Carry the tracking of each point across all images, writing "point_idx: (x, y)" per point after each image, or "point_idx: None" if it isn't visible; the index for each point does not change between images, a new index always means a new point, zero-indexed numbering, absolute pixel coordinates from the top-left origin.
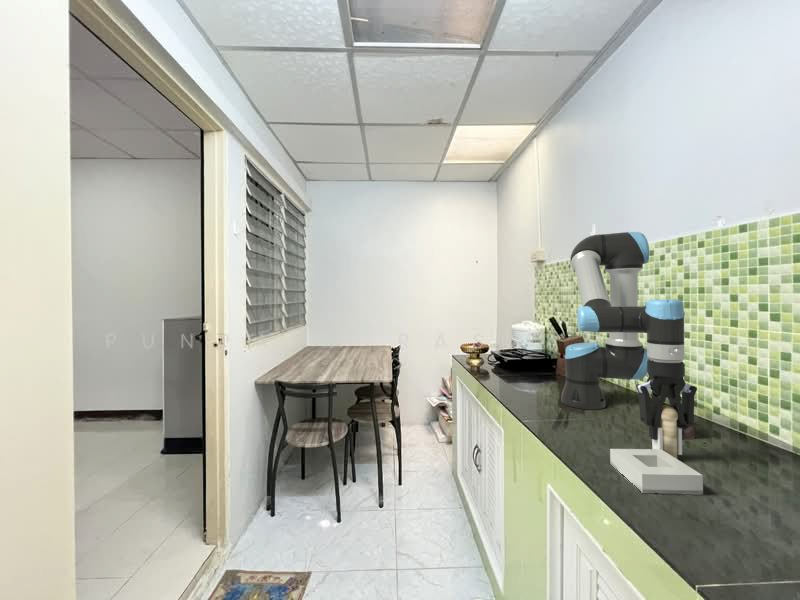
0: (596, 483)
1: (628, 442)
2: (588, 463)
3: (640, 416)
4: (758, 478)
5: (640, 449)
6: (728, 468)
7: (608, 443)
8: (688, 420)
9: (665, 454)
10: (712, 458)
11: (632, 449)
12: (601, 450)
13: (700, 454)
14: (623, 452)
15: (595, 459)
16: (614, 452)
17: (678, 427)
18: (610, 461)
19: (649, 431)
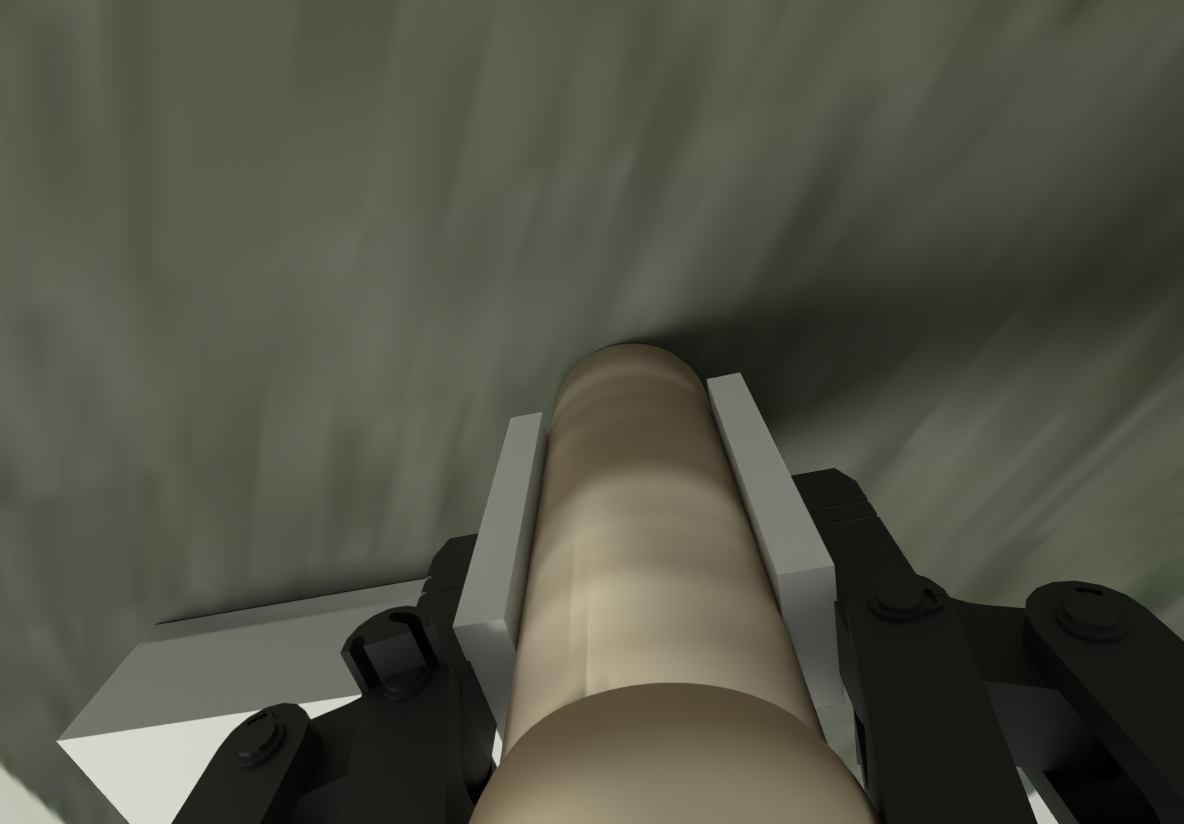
0: (92, 816)
1: (353, 40)
2: (5, 631)
3: (181, 819)
4: (1130, 594)
5: (312, 706)
6: (1051, 488)
7: (114, 152)
8: (1056, 814)
9: (499, 751)
10: (1093, 309)
11: (243, 717)
12: (63, 378)
13: (1048, 229)
14: (166, 776)
15: (41, 563)
16: (98, 783)
17: (828, 670)
18: (136, 648)
19: (421, 602)
